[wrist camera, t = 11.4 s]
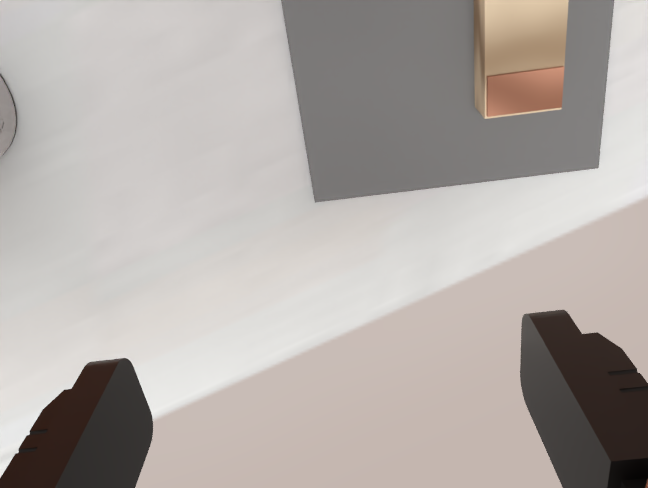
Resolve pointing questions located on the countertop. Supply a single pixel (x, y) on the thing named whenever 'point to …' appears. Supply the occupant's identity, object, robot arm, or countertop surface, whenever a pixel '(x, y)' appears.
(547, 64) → the beige rectangular block
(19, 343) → the countertop surface
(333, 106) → the mat
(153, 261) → the countertop surface
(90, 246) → the countertop surface
